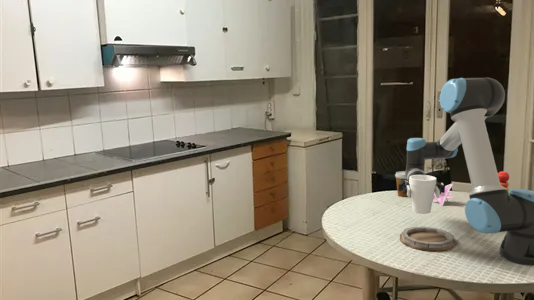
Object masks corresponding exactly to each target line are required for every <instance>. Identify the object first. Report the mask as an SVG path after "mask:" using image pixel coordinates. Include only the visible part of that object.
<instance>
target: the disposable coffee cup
mask: <svg viewBox="0 0 534 300" xmlns="http://www.w3.org/2000/svg"><path fill="white" fill-rule="evenodd" d="M394 177H395V179H396V190H397V192H396V193H397V196H398V197H401V198H409V197H408V195H407V193H406V194H404V193H403V190H402V191H398V184H399V183H400V182H401V179H404V180H406V181H408V180H407V177H406V175H405V171H404V170H402V171H396V172H395V174H394ZM410 196H411V191H410Z"/></svg>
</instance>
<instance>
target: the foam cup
mask: <svg viewBox="0 0 534 300" xmlns="http://www.w3.org/2000/svg"><path fill="white" fill-rule="evenodd" d="M436 180H437V177H435V176H432V175H427V174H425V175H412V176H410V177H409V184H410V191H411V195H410V200H411V207H412V212H413V213H416V214H420V215H428V214H430V213H431V212H432V211H431V210H432V207H433V202H432V201H433V199H434V197H435V195H434V190H435V185H436Z"/></svg>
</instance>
